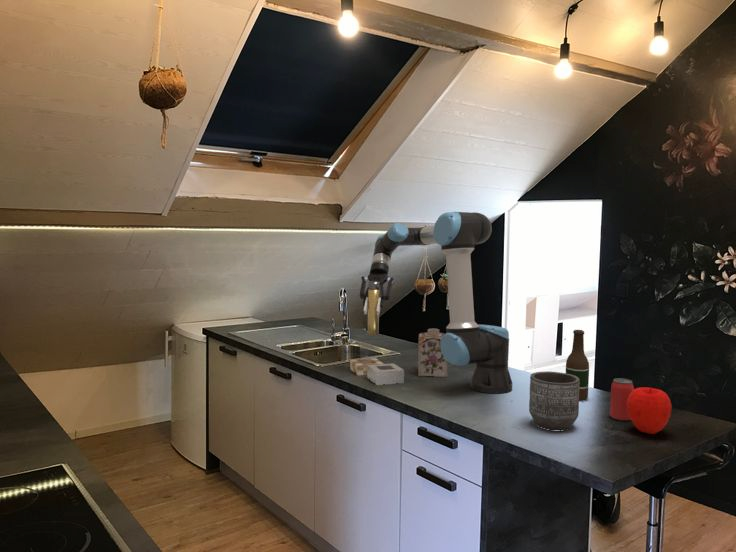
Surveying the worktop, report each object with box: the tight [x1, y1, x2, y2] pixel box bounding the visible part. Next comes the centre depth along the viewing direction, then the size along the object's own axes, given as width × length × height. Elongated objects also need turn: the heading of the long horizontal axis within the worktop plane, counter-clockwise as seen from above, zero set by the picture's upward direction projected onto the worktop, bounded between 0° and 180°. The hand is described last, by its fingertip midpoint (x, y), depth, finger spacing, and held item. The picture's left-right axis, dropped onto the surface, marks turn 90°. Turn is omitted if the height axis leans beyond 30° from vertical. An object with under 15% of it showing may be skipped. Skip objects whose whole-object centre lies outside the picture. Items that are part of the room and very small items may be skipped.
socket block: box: [366, 363, 405, 386], centre depth 229 cm, size 11×11×5 cm
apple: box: [626, 386, 672, 435], centre depth 173 cm, size 12×12×13 cm
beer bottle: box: [565, 329, 590, 402], centre depth 207 cm, size 8×8×24 cm
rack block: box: [349, 357, 385, 376], centre depth 243 cm, size 11×11×4 cm
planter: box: [528, 371, 580, 432], centre depth 178 cm, size 14×14×15 cm
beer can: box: [609, 377, 635, 422], centre depth 186 cm, size 7×7×12 cm
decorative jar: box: [417, 328, 449, 378], centre depth 240 cm, size 12×12×18 cm
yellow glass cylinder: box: [367, 280, 380, 336], centre depth 236 cm, size 4×4×21 cm
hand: (371, 312), depth 232 cm, fingers closed on yellow glass cylinder, 4 cm apart
